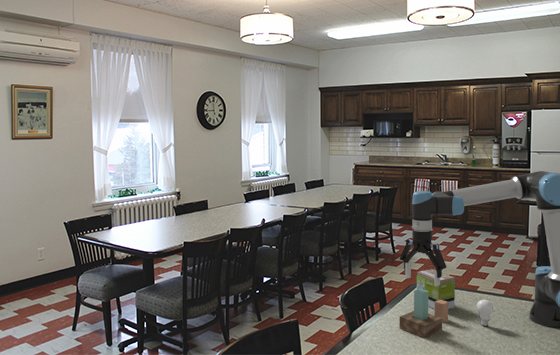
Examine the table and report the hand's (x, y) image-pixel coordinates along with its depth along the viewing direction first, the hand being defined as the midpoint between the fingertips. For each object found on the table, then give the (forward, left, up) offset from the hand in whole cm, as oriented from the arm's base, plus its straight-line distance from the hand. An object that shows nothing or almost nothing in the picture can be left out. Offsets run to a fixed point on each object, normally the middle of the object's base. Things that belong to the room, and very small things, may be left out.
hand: (422, 281), depth 187 cm
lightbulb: (-15, -23, -20) cm, 34 cm away
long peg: (0, 0, -20) cm, 20 cm away
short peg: (0, -15, -20) cm, 25 cm away
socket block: (0, 0, -20) cm, 20 cm away
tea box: (+12, -29, -20) cm, 37 cm away
